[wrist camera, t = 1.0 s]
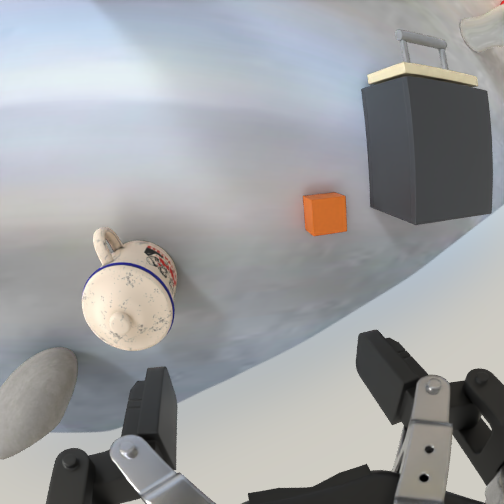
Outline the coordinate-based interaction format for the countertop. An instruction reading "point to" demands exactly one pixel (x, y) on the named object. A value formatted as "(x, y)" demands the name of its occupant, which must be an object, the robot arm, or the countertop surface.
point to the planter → (35, 398)
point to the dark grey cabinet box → (428, 149)
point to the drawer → (421, 70)
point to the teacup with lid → (130, 293)
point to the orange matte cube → (325, 213)
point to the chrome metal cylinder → (484, 30)
